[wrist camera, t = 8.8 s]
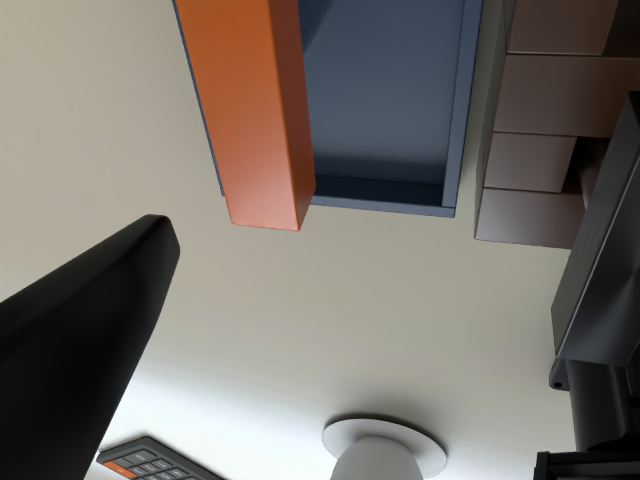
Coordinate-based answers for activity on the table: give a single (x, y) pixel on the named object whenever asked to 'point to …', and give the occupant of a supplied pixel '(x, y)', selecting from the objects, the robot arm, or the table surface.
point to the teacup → (381, 451)
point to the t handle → (257, 101)
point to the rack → (550, 113)
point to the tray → (388, 103)
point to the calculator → (151, 463)
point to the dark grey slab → (604, 250)
